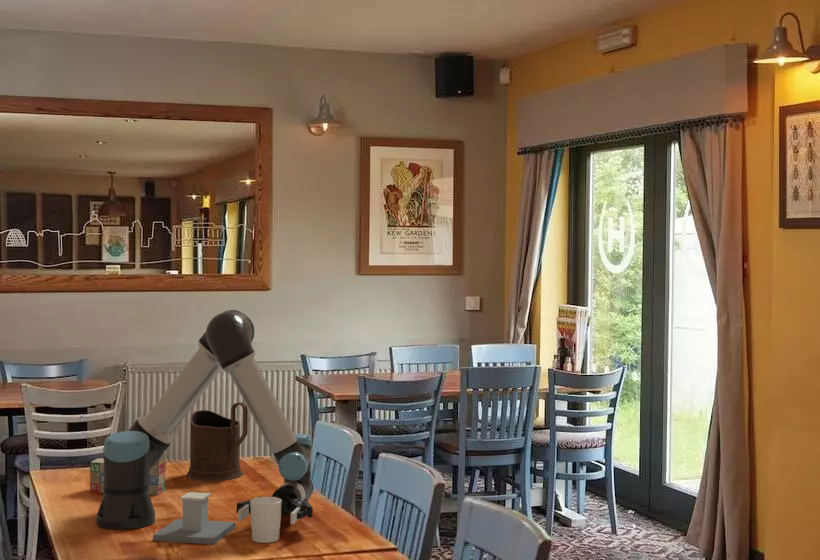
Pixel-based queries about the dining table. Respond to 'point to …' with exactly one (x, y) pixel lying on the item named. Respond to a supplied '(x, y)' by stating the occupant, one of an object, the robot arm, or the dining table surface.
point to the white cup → (265, 519)
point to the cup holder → (216, 445)
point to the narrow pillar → (194, 523)
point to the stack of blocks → (154, 476)
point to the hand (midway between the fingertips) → (265, 517)
